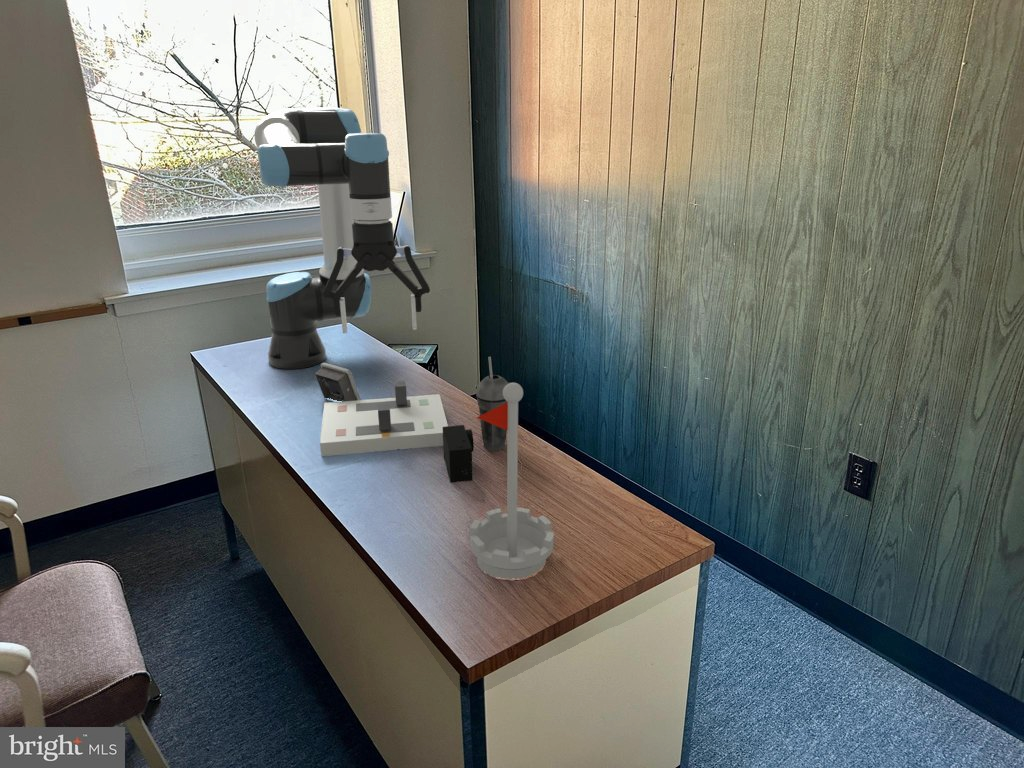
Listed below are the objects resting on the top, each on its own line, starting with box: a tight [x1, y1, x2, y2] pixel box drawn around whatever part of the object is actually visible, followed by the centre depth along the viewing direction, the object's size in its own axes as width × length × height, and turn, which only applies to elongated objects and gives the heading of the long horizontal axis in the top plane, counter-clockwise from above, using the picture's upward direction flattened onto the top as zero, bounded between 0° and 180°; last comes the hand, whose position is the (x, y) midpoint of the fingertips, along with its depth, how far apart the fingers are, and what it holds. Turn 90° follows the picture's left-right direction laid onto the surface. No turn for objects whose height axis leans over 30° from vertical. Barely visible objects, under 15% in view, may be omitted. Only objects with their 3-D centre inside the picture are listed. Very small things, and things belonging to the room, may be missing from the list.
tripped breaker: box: [378, 404, 391, 430], centre depth 144 cm, size 3×2×4 cm
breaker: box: [393, 380, 408, 405], centre depth 155 cm, size 3×2×4 cm
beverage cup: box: [475, 356, 509, 452], centre depth 141 cm, size 7×7×20 cm
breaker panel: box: [319, 393, 449, 457], centre depth 151 cm, size 20×26×3 cm
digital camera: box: [442, 424, 475, 484], centre depth 134 cm, size 10×5×7 cm, turn 12°
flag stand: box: [469, 382, 555, 579], centre depth 104 cm, size 13×13×30 cm
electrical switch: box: [314, 362, 362, 402], centre depth 163 cm, size 9×5×9 cm, turn 57°
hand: (380, 329), depth 138 cm, fingers open, 13 cm apart
